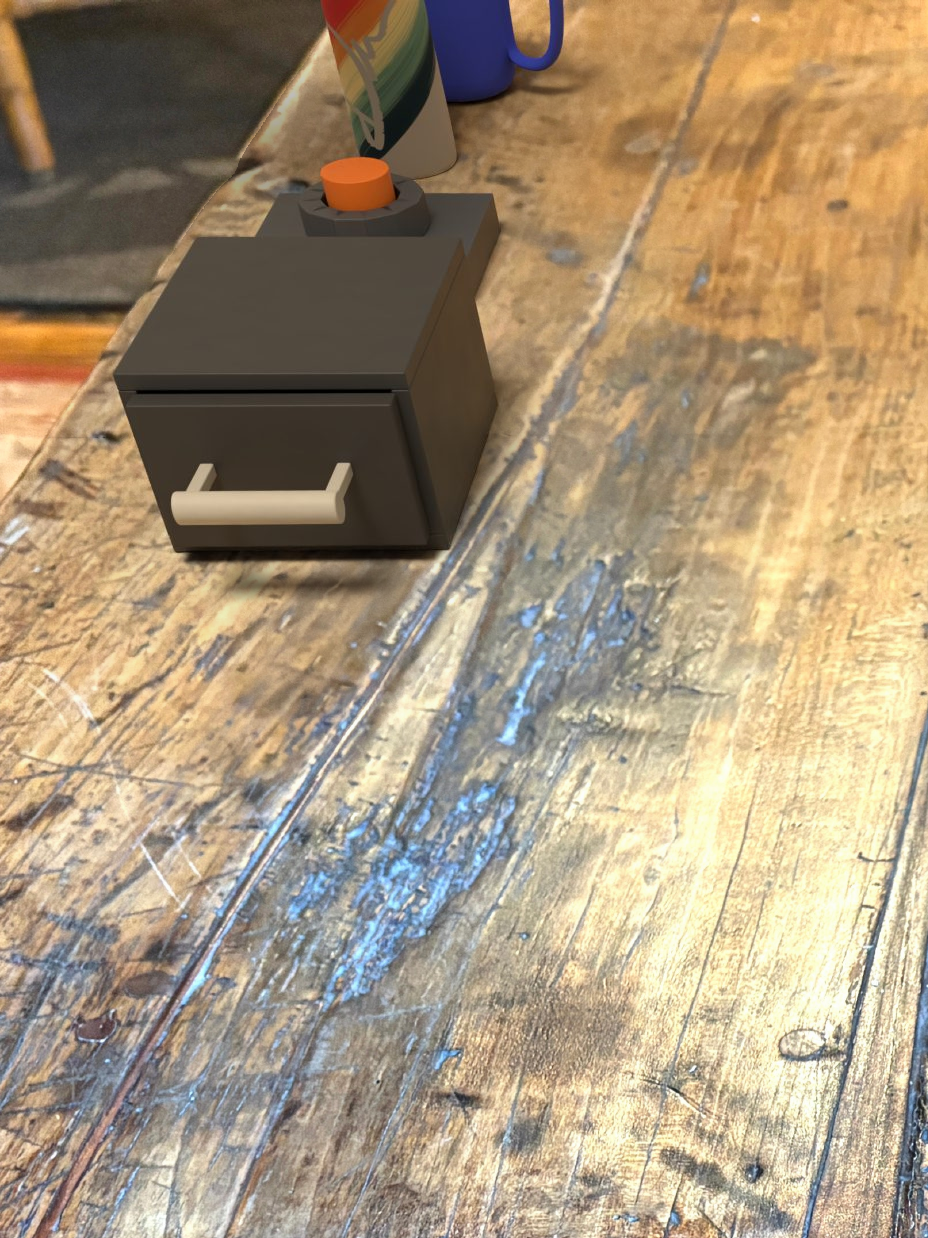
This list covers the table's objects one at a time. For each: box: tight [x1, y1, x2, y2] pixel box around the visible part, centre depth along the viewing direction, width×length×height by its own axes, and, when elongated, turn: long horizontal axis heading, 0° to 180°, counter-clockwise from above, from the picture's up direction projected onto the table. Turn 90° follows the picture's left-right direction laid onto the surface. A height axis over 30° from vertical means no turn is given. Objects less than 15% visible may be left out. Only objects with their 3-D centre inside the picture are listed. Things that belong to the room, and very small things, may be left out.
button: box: [319, 156, 396, 211], centre depth 122 cm, size 4×4×2 cm
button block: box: [254, 173, 502, 297], centre depth 124 cm, size 12×10×4 cm
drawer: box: [126, 389, 431, 547], centre depth 103 cm, size 18×11×7 cm, turn 4°
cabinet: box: [112, 236, 499, 552], centre depth 106 cm, size 15×13×9 cm
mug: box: [424, 0, 565, 103], centre depth 140 cm, size 8×12×10 cm
